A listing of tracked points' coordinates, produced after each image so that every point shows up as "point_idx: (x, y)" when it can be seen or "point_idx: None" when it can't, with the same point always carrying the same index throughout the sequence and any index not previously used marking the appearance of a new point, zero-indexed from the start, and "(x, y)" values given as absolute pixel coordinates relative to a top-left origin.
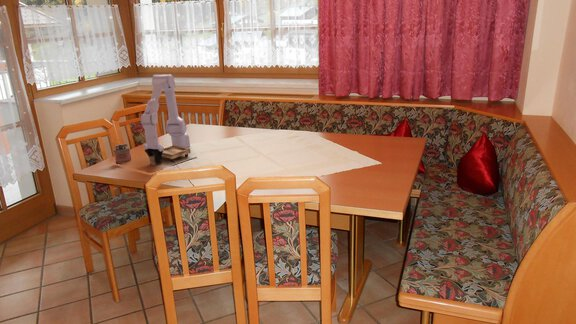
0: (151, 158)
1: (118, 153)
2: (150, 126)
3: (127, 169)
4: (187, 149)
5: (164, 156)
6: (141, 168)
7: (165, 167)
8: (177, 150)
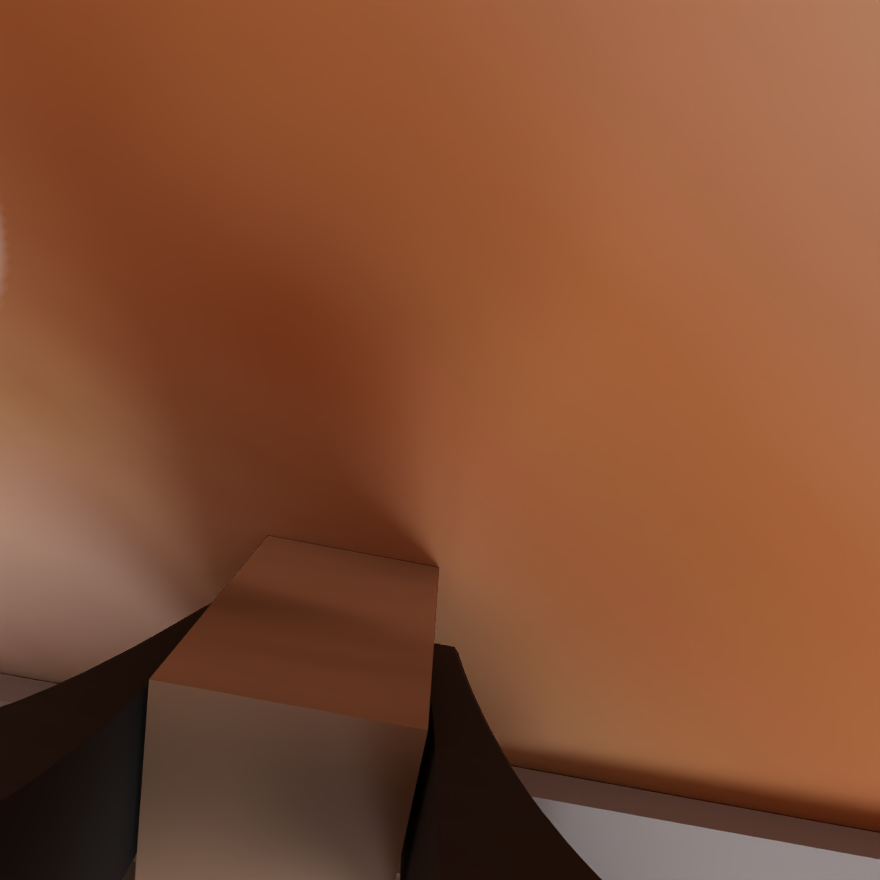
0: (312, 670)
1: None
2: None
3: (831, 174)
4: None
5: None
6: (514, 362)
7: (43, 586)
8: None
